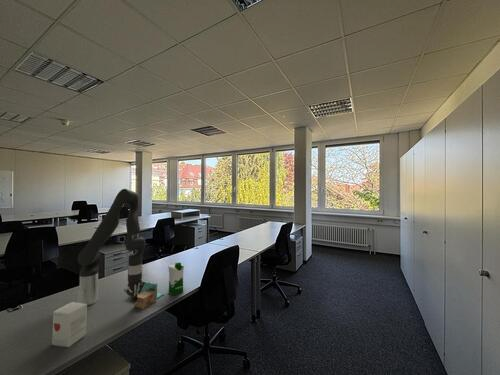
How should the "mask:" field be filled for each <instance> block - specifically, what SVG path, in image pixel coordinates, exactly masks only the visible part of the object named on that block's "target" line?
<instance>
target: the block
mask: <svg viewBox="0 0 500 375" xmlns="http://www.w3.org/2000/svg"><path fill="white" fill-rule="evenodd" d="M156 301H157V299H156V291H152V290H146V291H144V292H142V293H140V294H138V295H137V301H136V302H133V303H134V307H136V308H139V309H145V308H146V307H149V306H150V305H152V304H154V303H155V302H156Z"/></svg>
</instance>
